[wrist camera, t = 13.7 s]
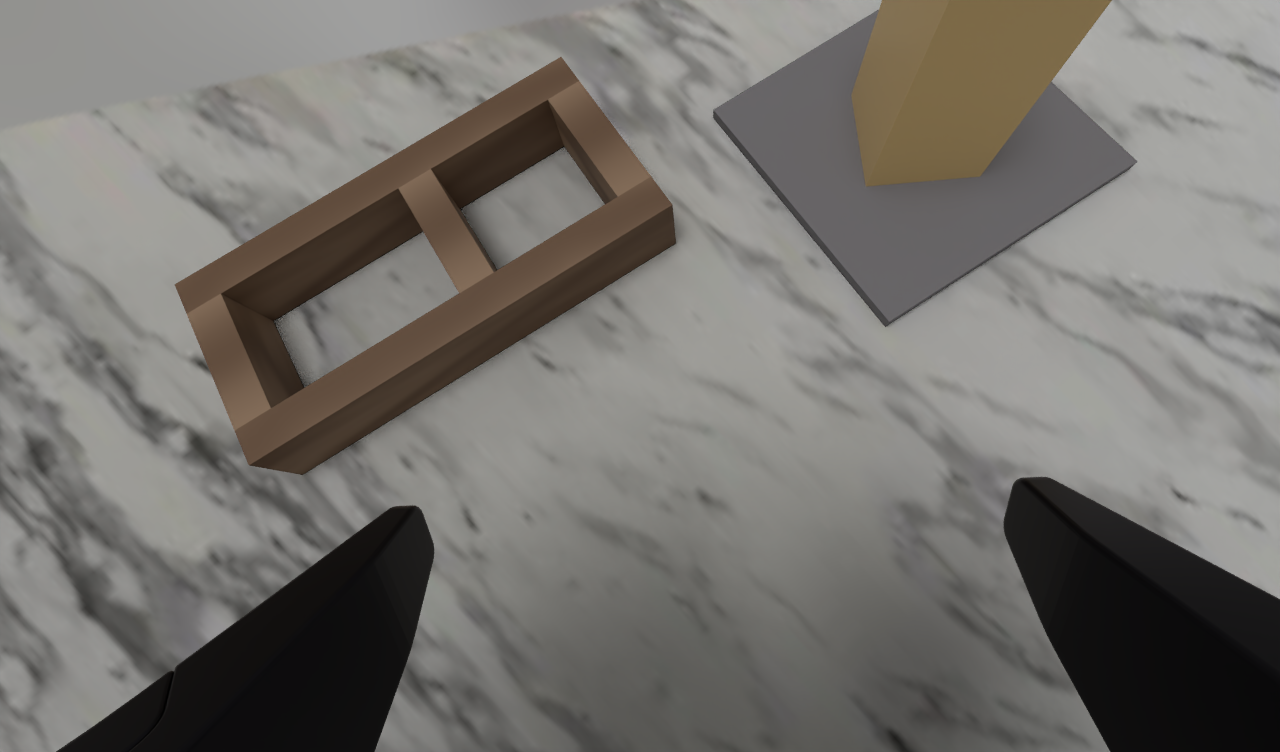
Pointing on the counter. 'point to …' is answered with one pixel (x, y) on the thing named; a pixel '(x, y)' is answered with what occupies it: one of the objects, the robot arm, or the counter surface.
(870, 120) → the ochre plug
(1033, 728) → the counter surface
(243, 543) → the counter surface
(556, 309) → the brown divided frame
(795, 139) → the charcoal mat
